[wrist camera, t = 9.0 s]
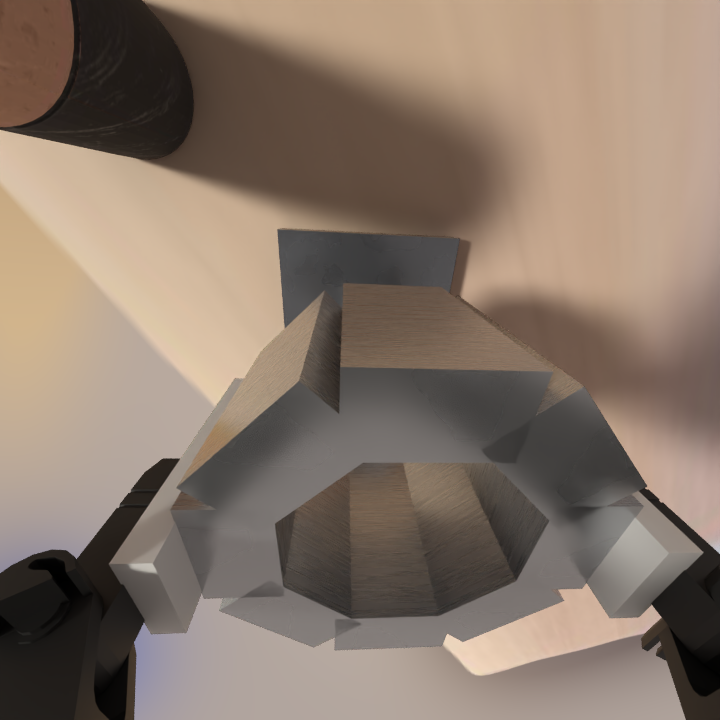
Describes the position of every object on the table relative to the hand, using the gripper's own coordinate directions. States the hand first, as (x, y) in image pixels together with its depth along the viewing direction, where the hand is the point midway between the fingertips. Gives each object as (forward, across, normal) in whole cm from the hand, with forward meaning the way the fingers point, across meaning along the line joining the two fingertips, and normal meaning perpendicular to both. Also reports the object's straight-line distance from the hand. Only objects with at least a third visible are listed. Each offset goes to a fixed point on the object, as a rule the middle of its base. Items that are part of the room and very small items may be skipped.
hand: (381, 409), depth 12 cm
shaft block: (+12, 0, 0) cm, 12 cm away
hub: (0, 0, 0) cm, 0 cm away
